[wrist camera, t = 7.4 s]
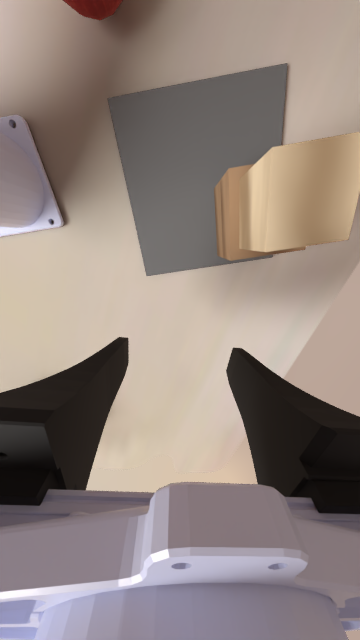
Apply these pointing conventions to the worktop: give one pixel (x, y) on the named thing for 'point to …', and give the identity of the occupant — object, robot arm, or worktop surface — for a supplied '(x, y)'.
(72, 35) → the worktop surface
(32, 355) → the worktop surface
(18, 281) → the worktop surface
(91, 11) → the red round fruit
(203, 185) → the mat
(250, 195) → the cube
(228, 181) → the tower top
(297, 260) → the worktop surface
